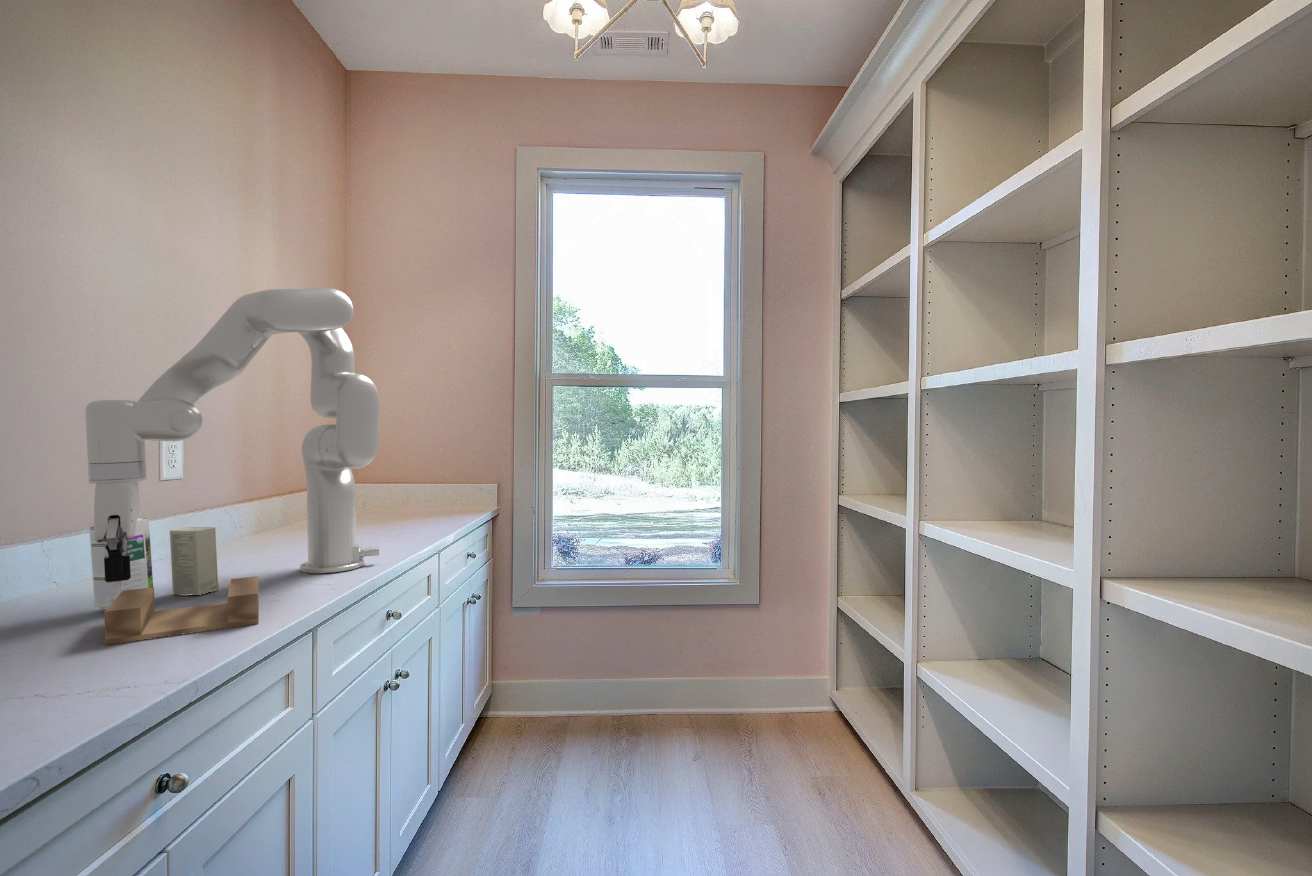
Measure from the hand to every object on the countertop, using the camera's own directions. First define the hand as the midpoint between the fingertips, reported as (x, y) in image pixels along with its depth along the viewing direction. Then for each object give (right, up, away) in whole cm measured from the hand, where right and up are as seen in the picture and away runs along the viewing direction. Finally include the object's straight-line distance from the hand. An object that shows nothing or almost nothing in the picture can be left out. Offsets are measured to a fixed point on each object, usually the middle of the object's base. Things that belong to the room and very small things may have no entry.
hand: (122, 574), depth 109 cm
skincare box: (+4, -6, +11) cm, 13 cm away
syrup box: (0, -5, 0) cm, 5 cm away
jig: (+17, -6, -7) cm, 19 cm away
